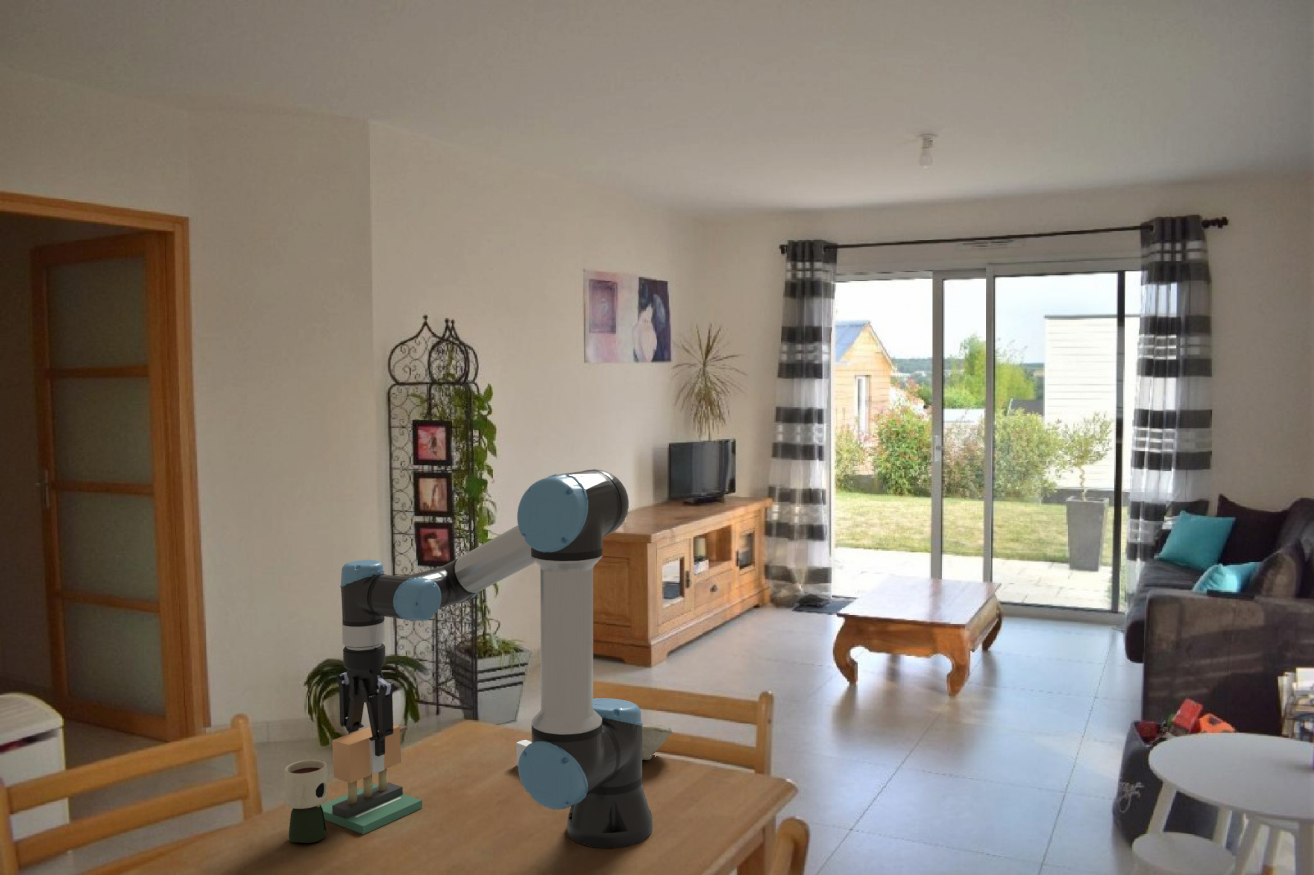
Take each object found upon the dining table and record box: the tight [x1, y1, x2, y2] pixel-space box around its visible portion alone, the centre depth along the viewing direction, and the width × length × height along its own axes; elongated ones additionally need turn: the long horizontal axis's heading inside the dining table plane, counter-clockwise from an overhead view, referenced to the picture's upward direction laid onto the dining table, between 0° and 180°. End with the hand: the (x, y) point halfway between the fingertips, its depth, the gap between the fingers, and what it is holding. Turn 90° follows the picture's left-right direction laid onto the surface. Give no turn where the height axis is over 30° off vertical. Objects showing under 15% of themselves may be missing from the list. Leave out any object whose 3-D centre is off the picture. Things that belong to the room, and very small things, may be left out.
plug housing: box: [331, 724, 408, 783], centre depth 193 cm, size 5×15×7 cm, turn 145°
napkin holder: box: [515, 739, 532, 767], centre depth 211 cm, size 15×11×6 cm
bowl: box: [642, 723, 673, 761], centre depth 217 cm, size 15×14×10 cm
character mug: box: [283, 759, 329, 844], centre depth 181 cm, size 11×7×13 cm, turn 5°
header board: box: [320, 768, 423, 835], centre depth 192 cm, size 14×14×7 cm
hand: (367, 768), depth 192 cm, fingers closed on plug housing, 5 cm apart
